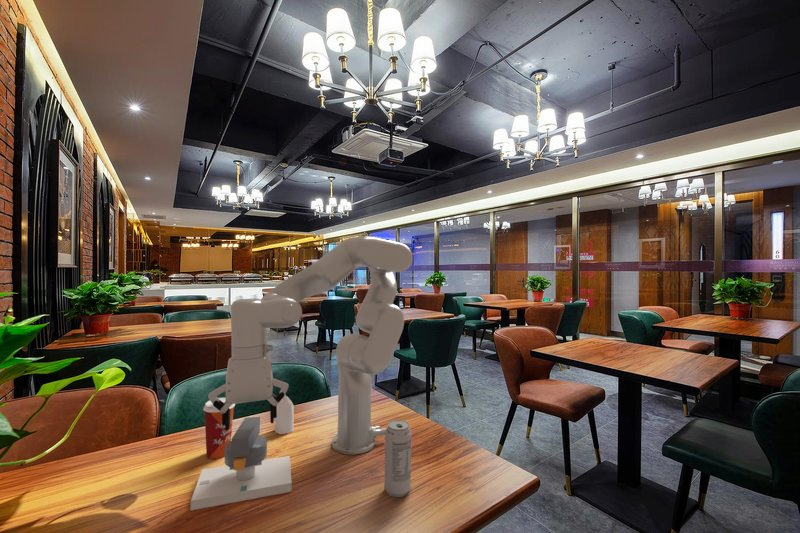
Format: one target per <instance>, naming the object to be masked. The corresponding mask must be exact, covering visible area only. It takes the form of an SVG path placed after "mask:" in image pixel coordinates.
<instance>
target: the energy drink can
mask: <svg viewBox="0 0 800 533" xmlns="http://www.w3.org/2000/svg"><path fill="white" fill-rule="evenodd" d="M384 438H385V440H384V441H385V442H384V443H385V444H384V485H383V486H384V490H385V492H386V493H387V495H389V496H390V497H392V498H401V497H404V496H406V495H407V494H408V492H409V491H410V490H411V487H412V483H411V482H412V481H411V478H412V430H411V428H410V424H409V423H408V422H407V421H405V420H403V419H402V420H399V419H396V420H391V421H390V422H388V424H387V428H386V431H385V435H384Z"/></svg>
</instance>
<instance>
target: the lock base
mask: <svg viewBox="0 0 800 533" xmlns="http://www.w3.org/2000/svg"><path fill="white" fill-rule="evenodd" d="M290 457H291V456H290V455H287V456H281V457H274V458H267V459H266V458H265V459H264V460H262V461H261V462H260V463H258V464H256V465H253V466H250V467H245V468H244V470H235V471H234V468H231V467H228V466H227V465H221V466H216V467H207V468H202V469H201V471H200V474H199V477H198V480H197V483H196V486H195V488H194V491H193V494H192V496H191V499H190V507H189V508H190V510H189V511H195V510H201V509H205V508H210V507H212V508H213V507H217V506H222V505H228V504H231V503H238V502H244V501H248V500H254V499H255V500H256V499H259V498H260V499H261V498H264V497H270V496H276V495H280V494H286V493H291V492H292V487H293V486H292V482H293V481H292V470H291V469H292V467H291V458H290Z"/></svg>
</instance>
